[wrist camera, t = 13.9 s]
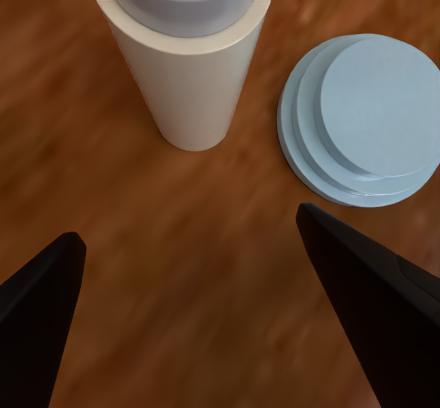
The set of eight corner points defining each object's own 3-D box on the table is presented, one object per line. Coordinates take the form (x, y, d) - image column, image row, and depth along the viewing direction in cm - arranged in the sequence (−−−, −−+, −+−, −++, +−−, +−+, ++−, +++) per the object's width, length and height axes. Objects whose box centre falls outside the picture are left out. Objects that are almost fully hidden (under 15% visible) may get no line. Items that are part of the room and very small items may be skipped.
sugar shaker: (247, 121, 17) (333, -57, 6) (187, 167, 16) (160, 63, 5) (199, 62, 17) (197, -229, 6) (138, 105, 16) (5, -129, 5)
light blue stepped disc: (454, 182, 18) (503, 175, 15) (304, 228, 17) (327, 230, 14) (405, 30, 19) (443, -6, 16) (255, 62, 17) (266, 30, 14)
